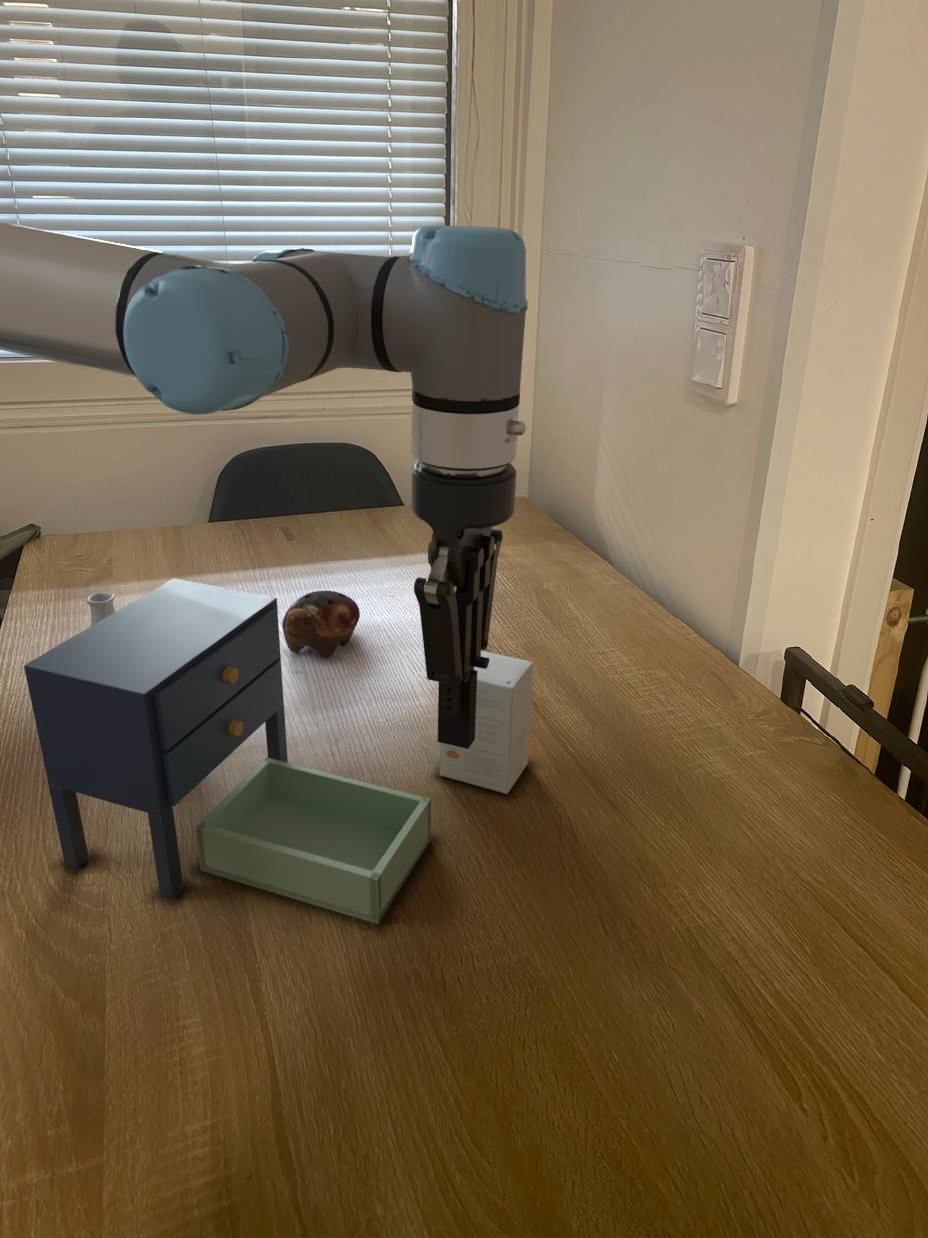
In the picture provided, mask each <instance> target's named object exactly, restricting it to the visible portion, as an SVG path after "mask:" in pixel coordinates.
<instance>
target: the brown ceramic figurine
mask: <svg viewBox="0 0 928 1238" xmlns="http://www.w3.org/2000/svg"><path fill="white" fill-rule="evenodd" d="M360 616H361V612H360V608H359V605H358V603H357V602H355V600H354V599H352V598H351V597H350V596H348V595H346V594H344V593H341V592H338V591H334V590H317V591H311V592H308V593H306V594H304V595H302V596H301V597H299V598H298V599H297V600H295V601H294V602H293V603H292V604H291V605H290V606H289V608H288V609H287V611H286V612H285V614H284V616H283V619H282V623H281V624H282V625H281V626H282V633H283V637H284V641H285V643H286V646H287V648H288V649H289V650H290V652H293V653H298V652H300V651H302V650H303V649H304V648H305V647H308V648H310V649H312V650H313V651H314V652H315V653H316V654H317V655H318V656H319V657H320V658H322V659H323V660H324V659H325V660H328V659H329V658H331V656H333V654H334V653H335V652H336V650H337V648H338V647H339V646H340V647H346V646H347V645H349V643H350V640H351V638H352V636H353V634H354V632H355V629H356V627H357V626H358V622H359V620H360Z"/></svg>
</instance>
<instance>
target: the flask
mask: <svg viewBox="0 0 928 1238" xmlns="http://www.w3.org/2000/svg"><path fill="white" fill-rule="evenodd" d="M115 597H116V594H114V593H112V592H108V591H105V592H104V591H103V592H95V593H93V594H90V595H88V596H87V599H86V605H89V607H90V615H91V617H90V627H91V626H92V625H94V624H96V623H98V622H99V621H101V620H103V619H104V618H106V617H108V616H109V615H111V614H113V613H115V612H116V610H115V605H114V601H115Z"/></svg>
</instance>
